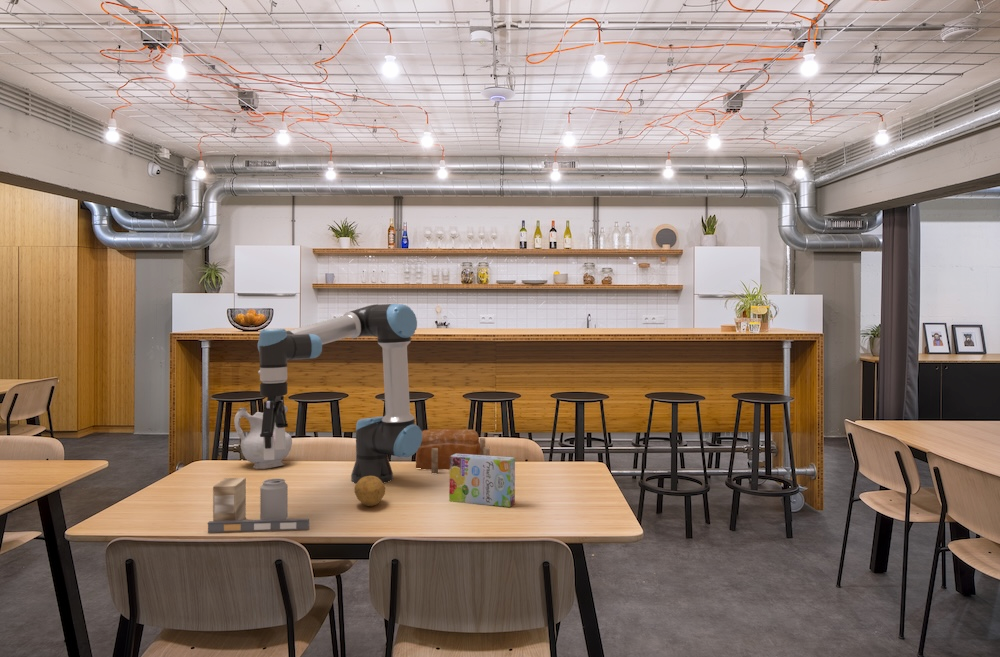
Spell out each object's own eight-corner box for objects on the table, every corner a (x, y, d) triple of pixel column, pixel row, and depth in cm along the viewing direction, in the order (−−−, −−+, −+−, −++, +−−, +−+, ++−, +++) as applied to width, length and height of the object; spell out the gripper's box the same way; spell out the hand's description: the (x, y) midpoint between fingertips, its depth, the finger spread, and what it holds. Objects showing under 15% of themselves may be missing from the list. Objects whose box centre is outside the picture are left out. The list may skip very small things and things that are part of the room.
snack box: (515, 503, 205) (515, 456, 205) (510, 508, 200) (510, 460, 200) (455, 497, 212) (455, 452, 212) (448, 501, 207) (448, 455, 207)
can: (292, 518, 189) (292, 478, 189) (278, 526, 181) (278, 484, 181) (269, 516, 190) (269, 476, 190) (255, 524, 183) (255, 482, 183)
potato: (348, 511, 196) (348, 481, 196) (361, 499, 209) (361, 471, 209) (378, 512, 195) (379, 481, 195) (389, 500, 209) (389, 471, 209)
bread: (481, 471, 250) (481, 431, 250) (414, 472, 249) (414, 432, 249) (480, 463, 264) (480, 426, 264) (417, 464, 263) (417, 426, 263)
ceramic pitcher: (256, 476, 241) (256, 410, 240) (224, 470, 251) (224, 407, 251) (301, 465, 259) (301, 404, 259) (270, 460, 269) (270, 401, 269)
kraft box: (245, 518, 189) (245, 477, 189) (235, 529, 179) (235, 486, 178) (224, 518, 188) (224, 478, 188) (212, 529, 178) (212, 486, 178)
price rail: (309, 528, 180) (309, 518, 180) (308, 530, 178) (308, 520, 178) (209, 531, 177) (209, 521, 177) (207, 533, 175) (207, 523, 175)
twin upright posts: (485, 461, 268) (485, 437, 268) (489, 474, 245) (490, 448, 245) (431, 462, 265) (431, 438, 265) (431, 475, 243) (431, 449, 243)
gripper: (271, 377, 197) (272, 445, 198) (248, 386, 173) (249, 464, 173) (296, 377, 198) (297, 445, 199) (276, 386, 173) (278, 463, 174)
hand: (275, 454), depth 186 cm, fingers open, 13 cm apart
